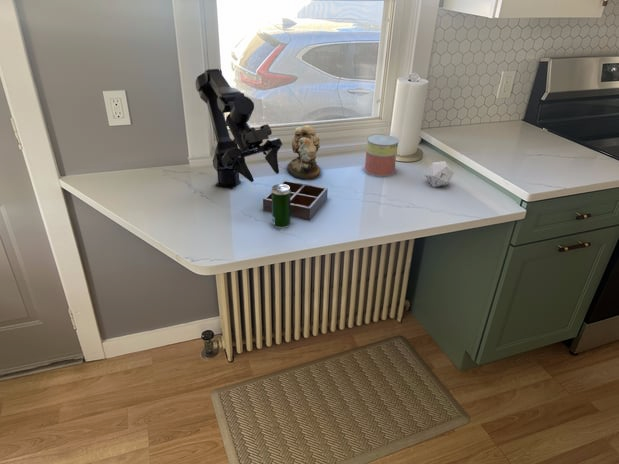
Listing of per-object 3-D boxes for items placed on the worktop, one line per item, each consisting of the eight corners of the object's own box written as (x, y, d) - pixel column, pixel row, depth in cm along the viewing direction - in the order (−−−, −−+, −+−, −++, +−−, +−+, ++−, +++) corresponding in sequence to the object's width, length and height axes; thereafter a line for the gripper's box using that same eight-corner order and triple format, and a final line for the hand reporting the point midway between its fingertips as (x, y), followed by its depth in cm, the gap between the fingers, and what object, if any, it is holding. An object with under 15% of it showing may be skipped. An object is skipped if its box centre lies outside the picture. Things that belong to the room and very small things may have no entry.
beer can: (278, 230, 134) (277, 193, 128) (268, 223, 138) (267, 186, 132) (293, 226, 136) (294, 188, 130) (284, 218, 140) (284, 182, 134)
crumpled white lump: (419, 186, 165) (432, 171, 156) (424, 166, 169) (437, 151, 160) (440, 195, 165) (454, 182, 156) (445, 176, 169) (460, 161, 160)
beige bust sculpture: (281, 163, 178) (281, 119, 170) (311, 160, 182) (312, 117, 173) (294, 181, 164) (295, 134, 155) (326, 178, 167) (328, 132, 158)
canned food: (396, 176, 170) (400, 145, 163) (365, 176, 170) (368, 144, 163) (392, 165, 179) (396, 134, 173) (363, 164, 179) (365, 134, 173)
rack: (263, 210, 144) (262, 198, 142) (283, 191, 157) (283, 179, 155) (309, 220, 140) (310, 208, 138) (327, 199, 152) (327, 188, 150)
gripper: (224, 122, 124) (250, 173, 123) (278, 110, 135) (303, 157, 134) (210, 143, 133) (235, 190, 132) (262, 130, 144) (285, 174, 143)
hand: (265, 177), depth 135 cm, fingers open, 9 cm apart
